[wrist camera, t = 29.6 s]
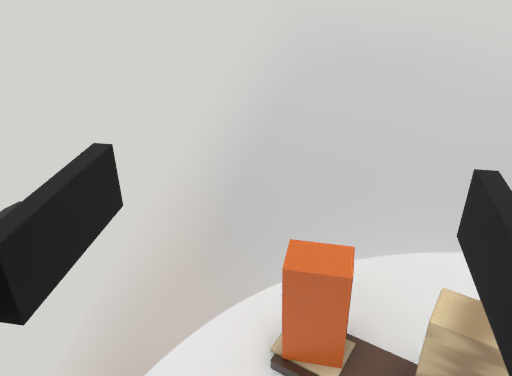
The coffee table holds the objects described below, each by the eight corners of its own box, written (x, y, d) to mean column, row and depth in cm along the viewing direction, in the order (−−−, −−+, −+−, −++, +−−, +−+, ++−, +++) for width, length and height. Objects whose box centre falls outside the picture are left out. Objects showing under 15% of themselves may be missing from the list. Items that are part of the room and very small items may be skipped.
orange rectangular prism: (281, 358, 37) (282, 268, 32) (288, 326, 40) (290, 239, 35) (342, 369, 36) (353, 278, 31) (344, 335, 39) (354, 246, 34)
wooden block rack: (265, 365, 38) (263, 268, 32) (298, 318, 42) (301, 226, 37) (564, 523, 28) (639, 423, 22) (567, 441, 32) (631, 339, 26)
